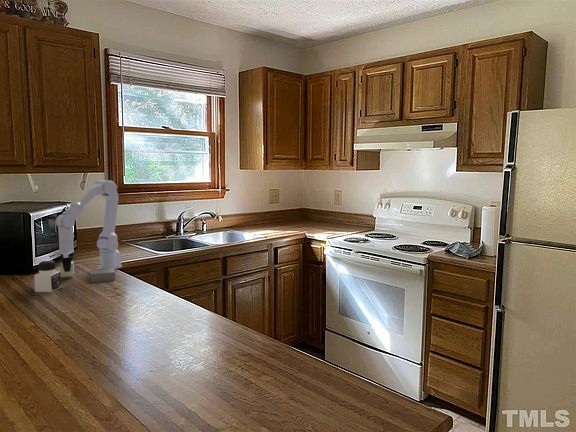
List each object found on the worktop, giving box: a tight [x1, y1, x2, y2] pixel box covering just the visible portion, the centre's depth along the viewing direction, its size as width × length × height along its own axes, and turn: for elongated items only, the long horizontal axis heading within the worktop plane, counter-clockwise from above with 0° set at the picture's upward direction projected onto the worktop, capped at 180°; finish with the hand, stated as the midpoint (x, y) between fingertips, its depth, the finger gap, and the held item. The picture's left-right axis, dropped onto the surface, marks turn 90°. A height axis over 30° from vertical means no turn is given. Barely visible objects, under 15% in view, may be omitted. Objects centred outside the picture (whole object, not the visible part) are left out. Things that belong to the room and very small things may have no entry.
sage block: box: [60, 260, 75, 276], centre depth 203 cm, size 5×5×5 cm
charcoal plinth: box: [89, 267, 116, 283], centre depth 202 cm, size 10×10×4 cm
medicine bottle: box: [33, 260, 62, 293], centre depth 182 cm, size 7×7×12 cm
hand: (67, 270), depth 203 cm, fingers closed on sage block, 5 cm apart
